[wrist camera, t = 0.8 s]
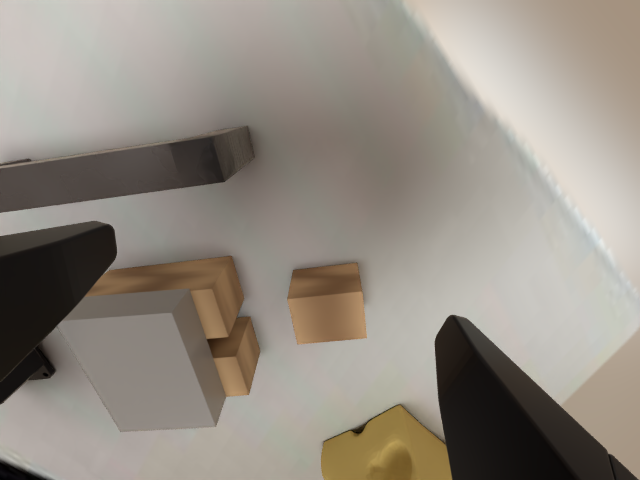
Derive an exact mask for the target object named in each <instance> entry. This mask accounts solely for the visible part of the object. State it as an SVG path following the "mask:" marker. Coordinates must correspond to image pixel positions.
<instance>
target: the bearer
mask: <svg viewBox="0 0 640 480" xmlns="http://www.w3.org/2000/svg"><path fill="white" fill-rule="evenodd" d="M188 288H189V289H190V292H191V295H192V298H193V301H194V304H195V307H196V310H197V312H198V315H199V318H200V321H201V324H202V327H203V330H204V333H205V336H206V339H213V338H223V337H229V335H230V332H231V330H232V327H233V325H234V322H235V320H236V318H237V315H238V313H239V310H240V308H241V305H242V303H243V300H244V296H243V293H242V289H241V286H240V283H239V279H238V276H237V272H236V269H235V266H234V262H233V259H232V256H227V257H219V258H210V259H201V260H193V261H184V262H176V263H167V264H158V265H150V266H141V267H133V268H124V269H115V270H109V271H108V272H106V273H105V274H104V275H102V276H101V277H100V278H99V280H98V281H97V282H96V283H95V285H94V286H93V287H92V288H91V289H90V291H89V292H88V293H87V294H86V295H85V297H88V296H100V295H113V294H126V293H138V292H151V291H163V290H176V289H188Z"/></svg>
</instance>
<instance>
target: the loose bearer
mask: <svg viewBox="0 0 640 480" xmlns="http://www.w3.org/2000/svg"><path fill="white" fill-rule="evenodd" d="M287 300H288V304H289V309H290V313H291V318H292V322H293V327H294V331H295V335H296V340H297V344H308V343H318V342H329V341H340V340H351V339H362V338H367V334H366V324H365V313H364V303H363V292H362V287H361V281H360V276H359V271H358V265H357V263H351V264H342V265H334V266H325V267H316V268H307V269H298V270H293V273H292V278H291V283H290V288H289V293H288V298H287Z"/></svg>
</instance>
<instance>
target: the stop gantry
mask: <svg viewBox="0 0 640 480" xmlns="http://www.w3.org/2000/svg"><path fill="white" fill-rule="evenodd" d="M254 158H255V157H254V153H253V148H252V144H251V139H250V135H249V131H248V126H243V127H236V128H229V129H223V130H216V131H213V132H209V133H205V134H201V135H198V136H194V137H190V138H185V139H178V140H171V141H165V142H158V143H151V144H145V145H138V146H131V147H125V148H118V149H111V150H105V151H98V152H91V153H85V154H78V155H71V156H65V157H58V158H51V159H45V160H38V161H31V160H30V159H24V160H17V161H11V162H4V163H0V213H2V212H9V211H16V210H24V209H31V208H38V207H46V206H53V205H60V204H67V203H75V202H82V201H89V200H96V199H104V198H111V197H118V196H126V195H133V194H140V193H147V192H155V191H162V190H169V189H177V188H184V187H191V186H198V185H206V184H213V183H220V182H225V181H226V180H227V179H229V178H230V177H231V176H232V175H234V174H235V173H236V172H237V171H239V170H240V169H241V168H242V167H244V166H245V165H246V164H248V163H249V162H250V161H251V160H253V159H254Z"/></svg>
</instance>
